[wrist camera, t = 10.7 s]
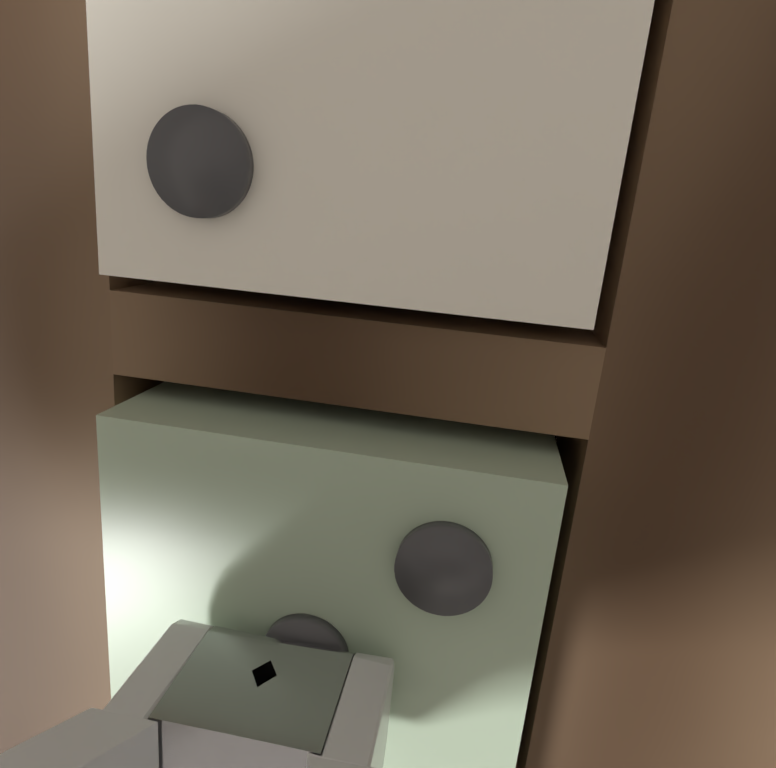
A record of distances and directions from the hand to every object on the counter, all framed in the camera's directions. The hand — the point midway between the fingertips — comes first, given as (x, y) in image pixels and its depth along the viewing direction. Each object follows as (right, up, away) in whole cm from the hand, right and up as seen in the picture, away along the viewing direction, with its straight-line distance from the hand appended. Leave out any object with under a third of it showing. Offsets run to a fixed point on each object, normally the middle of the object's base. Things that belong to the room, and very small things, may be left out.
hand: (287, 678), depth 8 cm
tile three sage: (+1, +1, +3) cm, 3 cm away
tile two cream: (+1, +9, +1) cm, 9 cm away
